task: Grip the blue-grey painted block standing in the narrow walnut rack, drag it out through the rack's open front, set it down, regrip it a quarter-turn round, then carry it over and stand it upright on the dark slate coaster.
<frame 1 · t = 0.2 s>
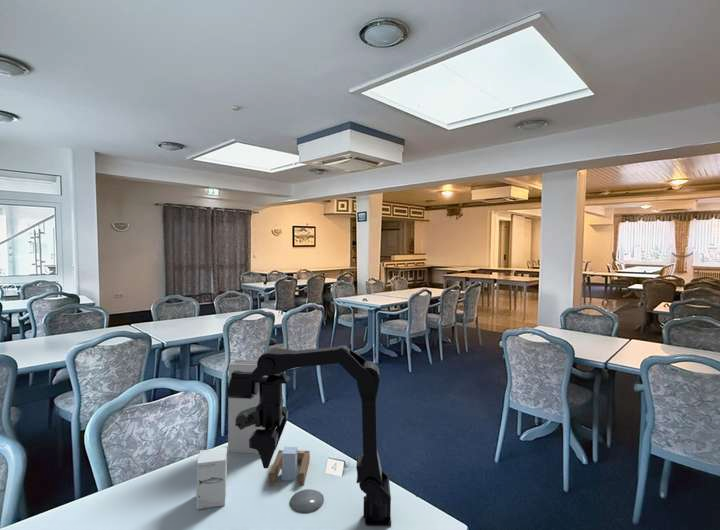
hand: (270, 458, 101), 14 cm above the table, fingers open, 9 cm apart
tall grey box: (251, 449, 134), on the table
supplement box: (211, 500, 106), on the table
coaster: (307, 501, 107), on the table
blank: (289, 476, 119), resting in rack
rack: (288, 477, 118), on the table
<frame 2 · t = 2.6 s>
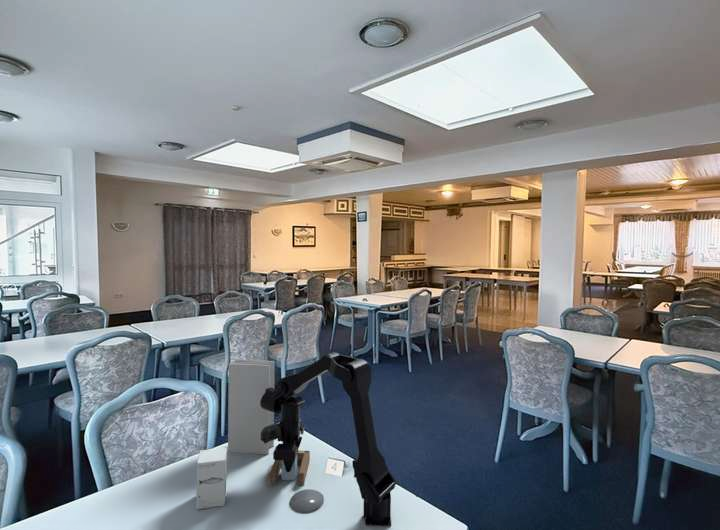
hand: (289, 467, 118), 3 cm above the table, fingers closed on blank, 4 cm apart
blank: (289, 476, 119), resting in rack, touching gripper
everything else where it was.
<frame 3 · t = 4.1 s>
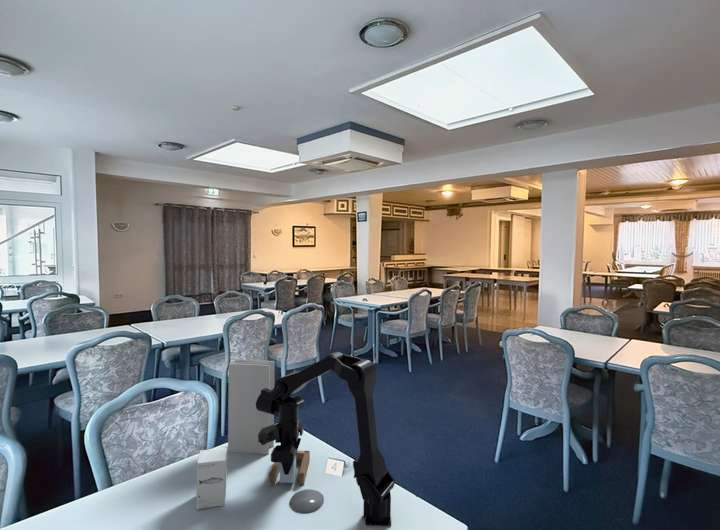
hand: (288, 470, 115), 4 cm above the table, fingers closed on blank, 4 cm apart
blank: (288, 478, 115), point 1 cm above the table, touching gripper
everything else where it was.
when the fingers open (3 cm above the table, at t = 5.5 s): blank stays where it is, on the table.
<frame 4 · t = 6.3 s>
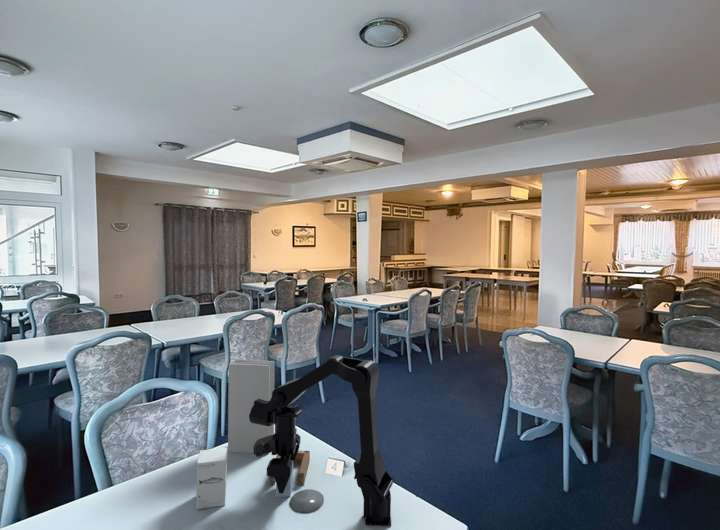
hand: (284, 483, 110), 3 cm above the table, fingers open, 9 cm apart
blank: (284, 492, 111), on the table
everything else where it was.
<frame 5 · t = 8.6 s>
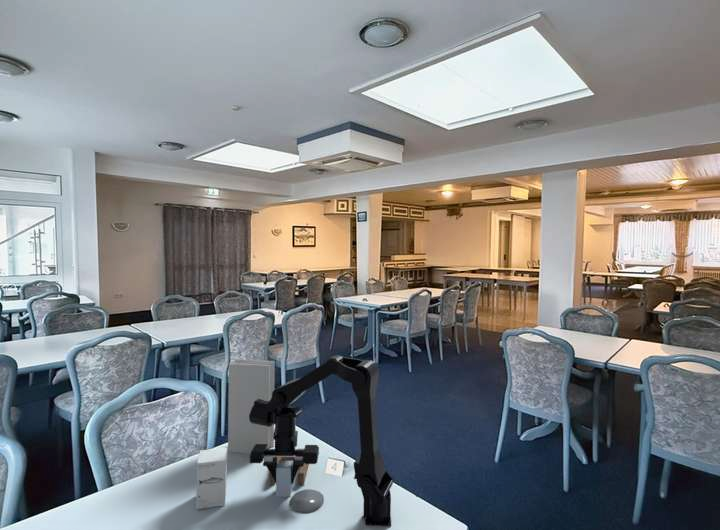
hand: (284, 483, 110), 3 cm above the table, fingers closed on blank, 4 cm apart
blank: (284, 492, 111), on the table, touching gripper
everything else where it was.
when the fingers open (4 cm above the table, at t = 11.9 s): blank stays where it is, resting on coaster.
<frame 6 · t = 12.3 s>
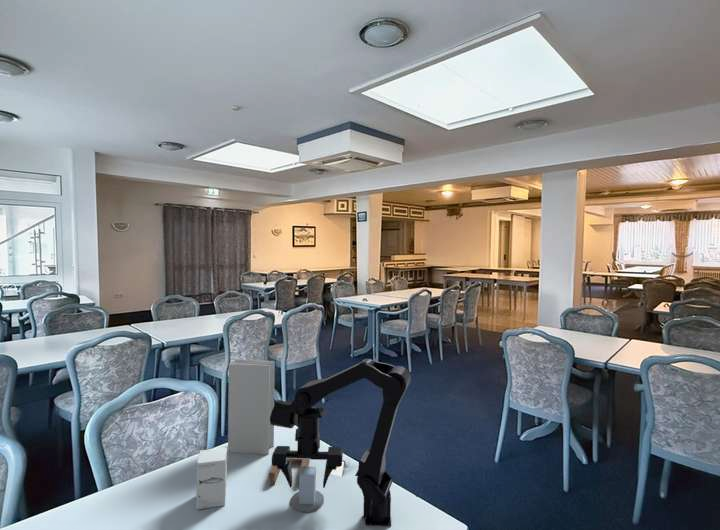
hand: (307, 486, 106), 4 cm above the table, fingers open, 9 cm apart
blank: (307, 499, 106), point 1 cm above the table, touching coaster
everything else where it was.
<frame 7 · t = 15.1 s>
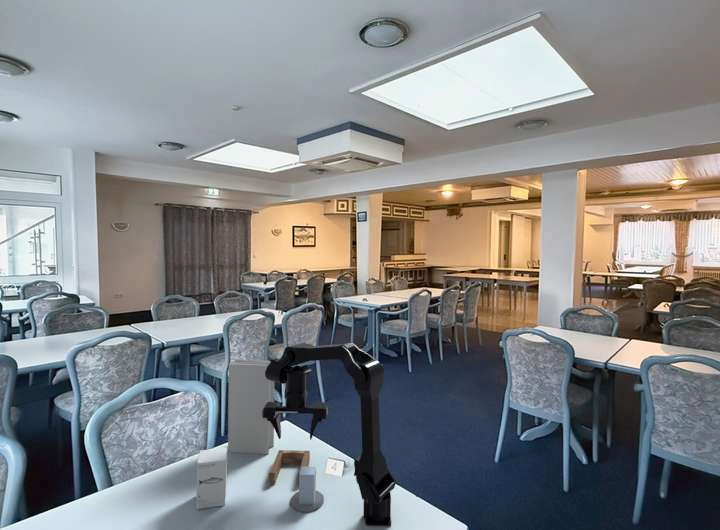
hand: (295, 438, 116), 12 cm above the table, fingers open, 9 cm apart
nothing on the table moved.
at the end: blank 0.0 cm from the coaster (horizontally); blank tilted 0°; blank point 0.6 cm above the table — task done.
